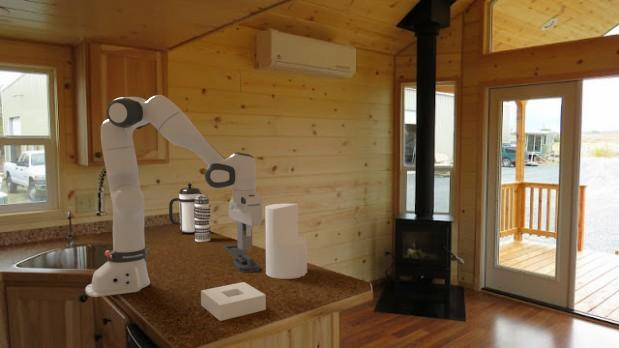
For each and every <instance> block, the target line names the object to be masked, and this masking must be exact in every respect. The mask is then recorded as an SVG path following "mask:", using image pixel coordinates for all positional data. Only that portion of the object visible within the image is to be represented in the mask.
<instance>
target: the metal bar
mask: <svg viewBox="0 0 619 348" xmlns="http://www.w3.org/2000/svg"><path fill="white" fill-rule="evenodd" d="M246 228H247V227H246V224H244V223H242V222H239V221H236V229H237V230H236V234H237V236H236V237H237V244H238V248H239V249H241V250H244V251H245V250H246V251H247V250H252V249H253V230H252V231H251V236H245V231H246Z"/></svg>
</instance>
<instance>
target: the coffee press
mask: <svg viewBox="0 0 619 348" xmlns="http://www.w3.org/2000/svg"><path fill="white" fill-rule="evenodd" d="M178 195H179V197H178V198H177V197H174V198H172V199H171V200H170V201H169V203H168V217H169V221H170V223H171V224H172V225H175V226H176V225H177V226H180V230H179V232H178V235H180V236H181V235H183V234H184V233H194V234H195V233H196V232H195V220H194V219H195V217H194V215H195V214H194V212H195V211H194V206H195V199H194V198H196V196H198V195H203V193H202V190H201V189H200V188H199V187H196V186H192V183H191V182H189V183H187V187H182V188H180V189H179V191H178ZM174 202H179V221H175V220H174V215H173V211H174V210H173V204H174Z"/></svg>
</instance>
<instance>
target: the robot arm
mask: <svg viewBox="0 0 619 348" xmlns="http://www.w3.org/2000/svg"><path fill="white" fill-rule="evenodd" d="M106 107H107V108H106V117H107V119H105V120H104V121H103V122H102V123H101V125H100V141H101V148H102V149H101V150H102V156H103V160H104V165H105V172H106V176H107V182H108V183H107V184H108V189H109V193H110V194H109V195H110V200H111V202H112V203H111V205H112V240H113V241H112V246H113V249H112V250H105V252H104V255H105V256H106V257H107V260H108V261H106V262H105V263H104V264H103V265H102V266H100V267H99V268H98V269H96V270H95V271H94V273H93V275H92V280H91V283H90V284H88V285H86V287H85V290H84V291H85V294H86V295H87V296H89V297H94V298H97V297H98V298H99V297H105V296H106V297H107V296H116V295H121V294H131V293H137V292H140V291H141V290H142V289H143V288H146V287H148V286H149V285H150V284H151V281H150V278H149V273H148V269H147V248H146V247H145V213H146V212H145V211H146V210H145V209H146V204H145V203H146V200H145V195H144V193H143V191H142V190H141V182H140V178H139V177H140V175H139V165H138V160H137V155H136V149H135V143H134V139H133V138H134V137H133V133H134V132H135V130H140V129H142V128H144V127H146V126H149V125H150V124H151V125H152V126H153V127H154V128H155V129H156V131H158V132H159V133H160V134H161V135H162V137H164V138H165V140H167V141H168V142H170V143H171V144H173V145H174V146H177V147H181V148H185V149H188V150H189V151H191V152H194V153H195V154H196V155H197V156H198V157H199V158H200V159H201V160H202V161H203V162H204V163H205V164H206V165H207V167H206V169H205V171H204V179H205V182H206V184H207V185H208V186H210V187H211V188H214V189H224V188H227V187H231V199H230V200H229V203H228V218H229V219H230V220H232V221H236V222H237V221H239V222H242V223H244V224H246V227H247V228H246V231H245V236H251V231H252V232H253V227H260V226H261V225H262V222H263V206H262V205H263V203H264V200H263V197H262V196H261V195H259V194H260V193H258V192H257V186H256V180H257V165H256V159H255V157H254V156H253V155H252V154H249V153H245V152H233V153H232V154H231V155H230V156H228V157H224V156H222V154H220V152H219V151H217V150H216V148H215V147H214V146H213V145H211V143H209V142H208V140H207V139H206V138H205V137H204V136H203V135H202V134H201V132H200V131H199V129H197V128H196V127H195V125H194V124H193V122H192V121H191V120H190V119H189V117H188V116H187V115H186V114H185V113H184V112H183V111H182V109H181V108H179V107H178V105H177V104H175V103H174V102H173V101H171V100H170V99H169V98H168V97H166V96H165V95H162V94H158V95H157V94H155V95H154V96H153V95H152V96H151V97H150V98H149V99H148V98H146V97H138V96H126V97H123V96H122V97H118V98H115V99H113V100H111V101H110V102H109V103H108V104H107V106H106Z"/></svg>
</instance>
